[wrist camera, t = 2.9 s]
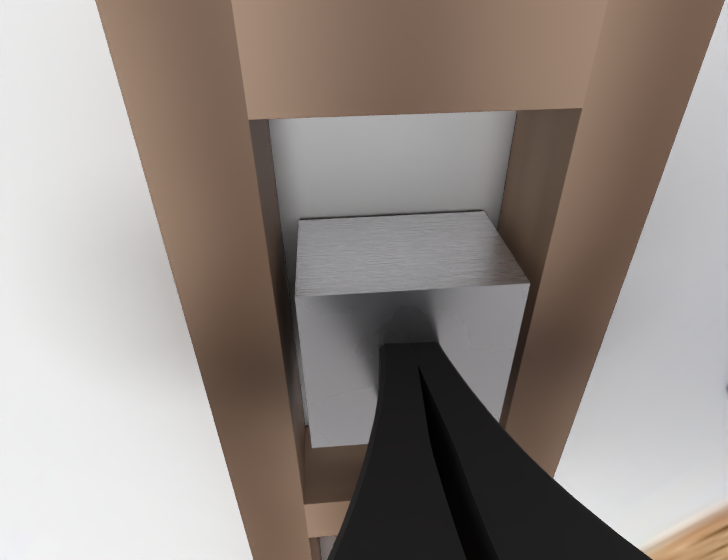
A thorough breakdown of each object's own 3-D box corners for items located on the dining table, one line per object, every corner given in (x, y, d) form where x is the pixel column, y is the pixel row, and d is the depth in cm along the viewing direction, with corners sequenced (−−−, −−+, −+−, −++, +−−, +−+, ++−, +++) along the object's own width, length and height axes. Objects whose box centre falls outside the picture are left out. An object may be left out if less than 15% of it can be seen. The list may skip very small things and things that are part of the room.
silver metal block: (484, 211, 13) (530, 283, 10) (464, 348, 16) (496, 433, 13) (298, 220, 13) (294, 296, 10) (312, 358, 16) (312, 447, 13)
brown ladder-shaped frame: (633, -32, 10) (732, -24, 8) (470, 600, 27) (485, 665, 25) (148, -24, 10) (91, -13, 7) (291, 618, 27) (289, 686, 24)
